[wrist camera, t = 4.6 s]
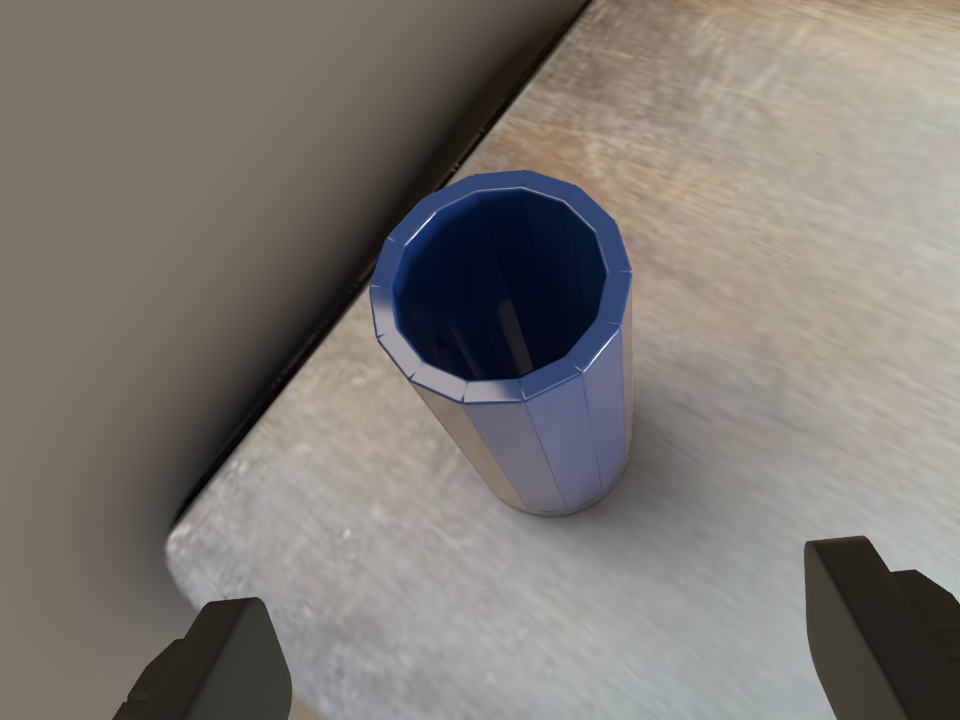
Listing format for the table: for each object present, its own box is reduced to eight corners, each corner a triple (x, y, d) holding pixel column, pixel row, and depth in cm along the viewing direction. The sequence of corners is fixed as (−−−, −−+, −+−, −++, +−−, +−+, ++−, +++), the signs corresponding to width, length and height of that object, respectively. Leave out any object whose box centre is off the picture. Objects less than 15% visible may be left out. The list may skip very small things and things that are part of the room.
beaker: (539, 552, 21) (470, 461, 12) (443, 427, 23) (323, 270, 14) (666, 449, 22) (689, 289, 13) (561, 335, 24) (518, 127, 15)
